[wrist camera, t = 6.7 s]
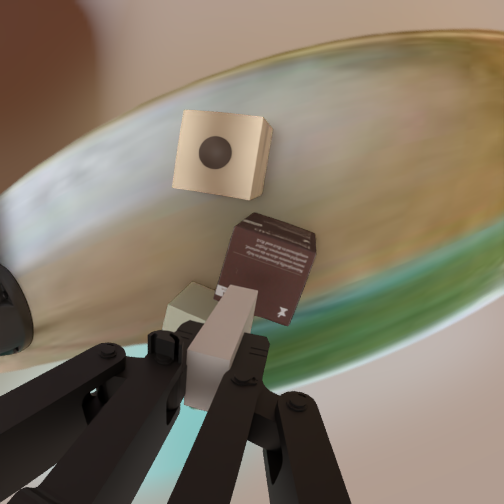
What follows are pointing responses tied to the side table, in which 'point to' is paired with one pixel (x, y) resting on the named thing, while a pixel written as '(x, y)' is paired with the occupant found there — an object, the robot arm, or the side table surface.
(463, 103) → the side table surface
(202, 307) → the sage block partly covered
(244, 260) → the box
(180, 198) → the side table surface
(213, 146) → the beech block marked
